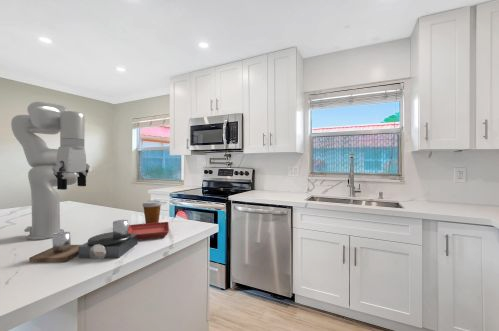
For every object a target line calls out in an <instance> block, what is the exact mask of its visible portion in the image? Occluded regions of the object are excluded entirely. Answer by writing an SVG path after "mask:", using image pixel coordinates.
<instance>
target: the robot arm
mask: <svg viewBox="0 0 499 331" xmlns="http://www.w3.org/2000/svg"><path fill="white" fill-rule="evenodd" d="M26 110H27V113H28V114H18V115H15V116H13V117H12V118H11V120H10V121H11V122H10V126H11V131H12V133H13V136H14V138H15V139H16V140H17V141H18V142H19V144H20V146H21V147H22V149H23V152H24V156H25V158H26V162H27V163H28V165H29V166H30V167H31V168H30V169H29V171H28V173H27V177H28V181H29V182H28V183H29V186H30V187H29V188H30V194H31V195H30V196H31V225H30V226H26V228H24V232H29V234H28V235H27V236H26V238H27V240H29V241H30V240H31V241H35V240H36V241H37V240H38V241H39V240H45V239H46V240H47V239H51V238H52V235H53V234H56V233H60V232H65V230H64V229H63V228H61V214H60V213H61V207H60V206H61V202H60V201H61V200H60V195H59V193H58V192H57V191H56V190H55V189H54V188H53V187H57V188H56V189H57V190H61V191H62V190H63V191H64V190H67V189H68V186H70V185H71V186H72V185H74V184H76V183H77V184H76V185H77V187H86V186H87V177H88V173H89V169H90V167H91V165H89V164H88V163H87V154H86V149H85V131H86V130H85V121H86V120H85V117H86V116H85V114H84V113H82V112H79V111H73V110H68V109H67V107H65V106H64V105H61V104H56V103H50V102H44V101H34V102H33V101H32V103H29V105H28V106H27V109H26ZM36 134H40V135H41V134H42V135H58V134H59V138H60V140H59V141H60V142H59V145H60V146H58V148H49V147H48V146H47V143H46V141H45V140H44V139H42V138H41V137H40V136H39V135H36Z"/></svg>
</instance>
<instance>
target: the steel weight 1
mask: <svg viewBox="0 0 499 331" xmlns="http://www.w3.org/2000/svg"><path fill="white" fill-rule="evenodd" d="M51 241H52V247H53V253H62V252H66V251H69V250H70V249H71V245H72V243H71V232H70V231H64V232H60V233H56V234H53V235H52V240H51Z"/></svg>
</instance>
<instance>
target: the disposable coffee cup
mask: <svg viewBox="0 0 499 331" xmlns="http://www.w3.org/2000/svg"><path fill="white" fill-rule="evenodd" d="M161 206H162V201H161V200H146V201H145V200H144V201H143V203H142V207H143V213H144V220H145V224H147V223H159V221H160V214H161Z"/></svg>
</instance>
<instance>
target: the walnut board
mask: <svg viewBox="0 0 499 331" xmlns="http://www.w3.org/2000/svg"><path fill="white" fill-rule="evenodd" d="M81 245H82V244H71V249H70V250H69V251H66V252H62V253H53V246H52V247H51V248H48V249H46V250H43V251H41V252H39V253H37V254H34V255H33V256H30V257H28V258H29V259H28V260H29V263H66V262H68V261H70V260H72V259H74V258H75V257H78V247H79V246H81Z"/></svg>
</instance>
